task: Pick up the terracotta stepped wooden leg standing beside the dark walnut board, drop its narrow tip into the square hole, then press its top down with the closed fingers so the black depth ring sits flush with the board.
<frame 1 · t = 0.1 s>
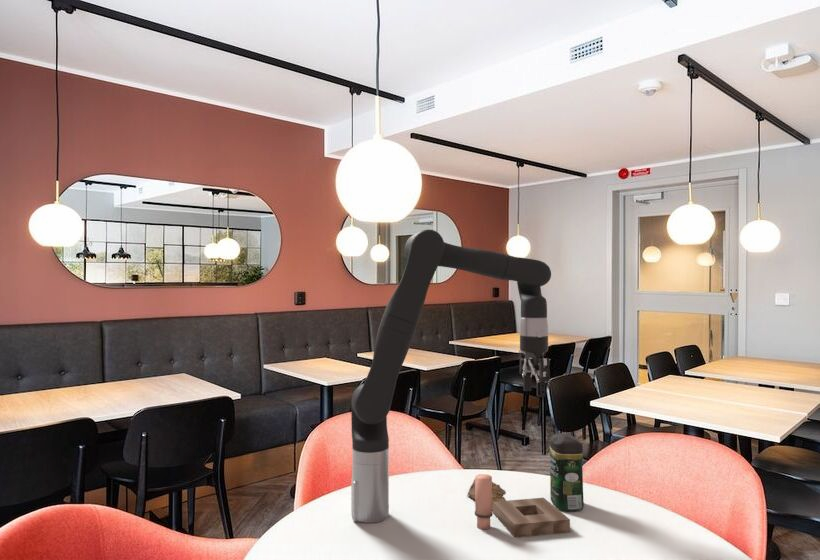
hand: (534, 393, 148), 29 cm above the table, tool pointing down, fingers open, 8 cm apart
wooden fragment: (485, 495, 154), on the table
terracotta leg: (483, 526, 132), on the table
coffee jar: (566, 506, 145), on the table
walnut board: (530, 522, 134), on the table
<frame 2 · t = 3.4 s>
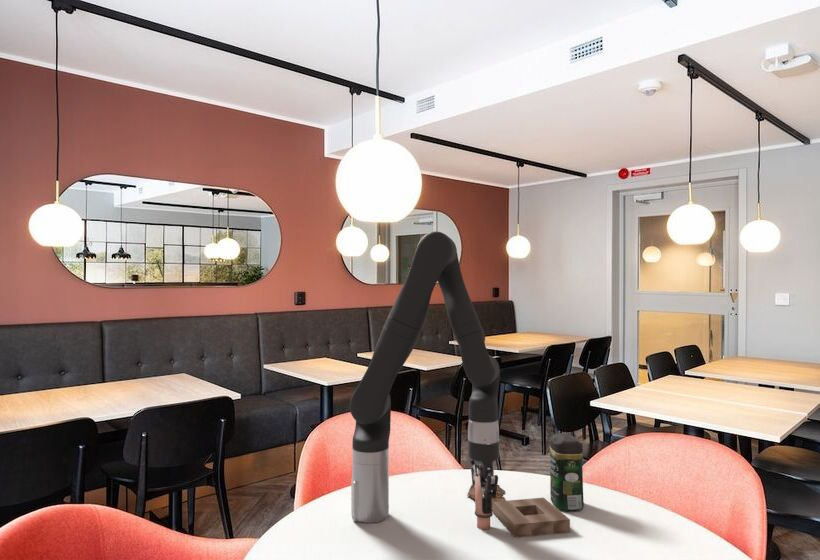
hand: (483, 509, 132), 4 cm above the table, tool pointing down, fingers closed on terracotta leg, 4 cm apart
terracotta leg: (483, 526, 132), on the table, touching gripper
everything else where it was.
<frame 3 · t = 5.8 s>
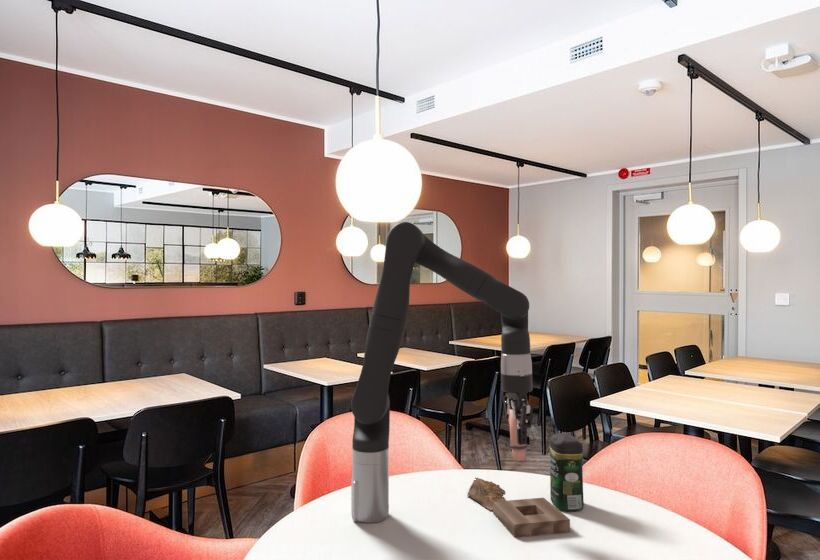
hand: (518, 441, 133), 20 cm above the table, tool pointing down, fingers closed on terracotta leg, 4 cm apart
terracotta leg: (519, 458, 133), point 16 cm above the table, touching gripper
everything else where it was.
when the fingers open (5 cm above the table, at t = 8.3 s): terracotta leg stays where it is, resting in walnut board.
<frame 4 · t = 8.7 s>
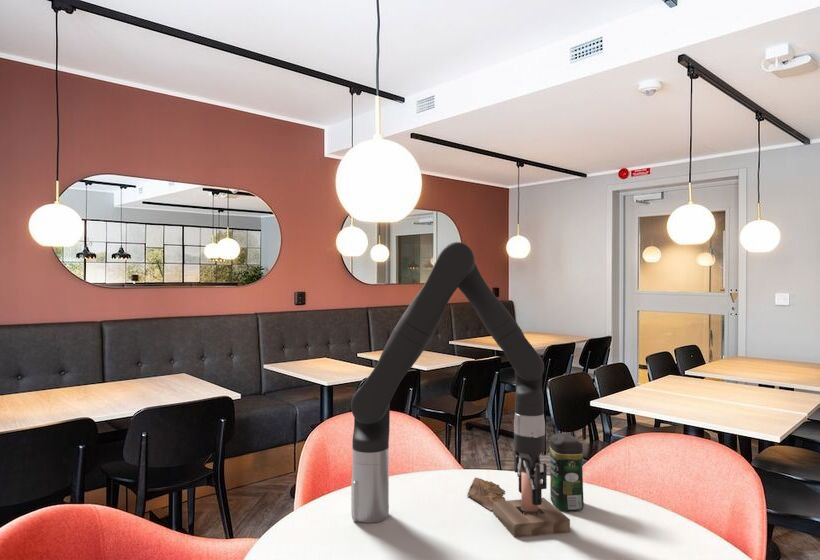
hand: (529, 498, 134), 6 cm above the table, tool pointing down, fingers open, 7 cm apart
terracotta leg: (529, 522, 134), resting in walnut board
everything else where it was.
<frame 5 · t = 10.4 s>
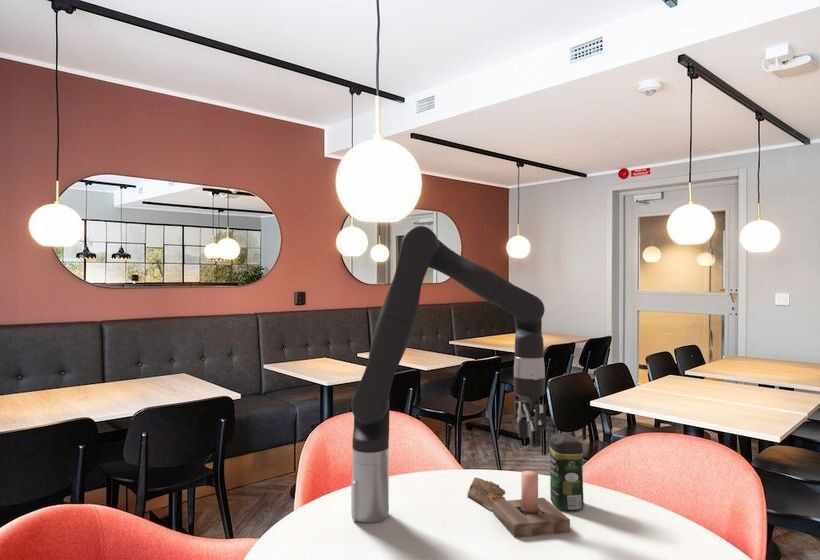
hand: (529, 441, 134), 20 cm above the table, tool pointing down, fingers open, 7 cm apart
nothing on the table moved.
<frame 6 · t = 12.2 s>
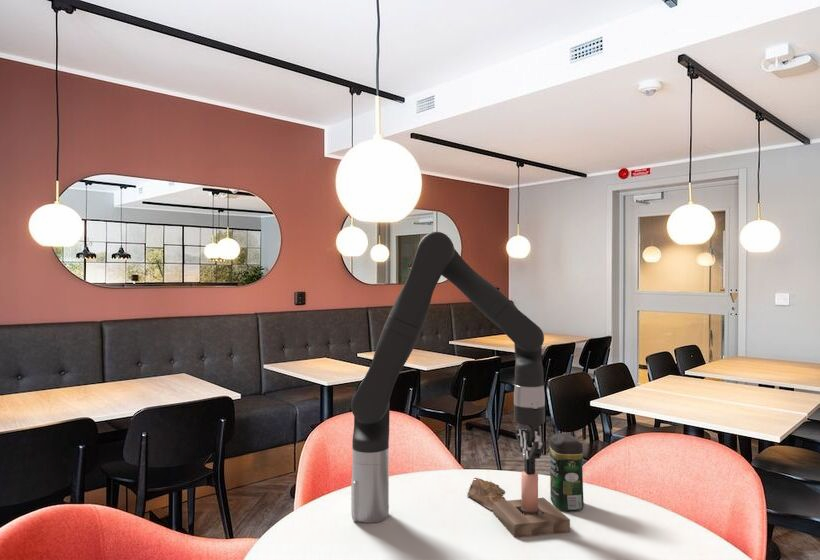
hand: (529, 473, 134), 12 cm above the table, tool pointing down, fingers closed
terracotta leg: (529, 522, 134), resting in walnut board, touching gripper
everything else where it was.
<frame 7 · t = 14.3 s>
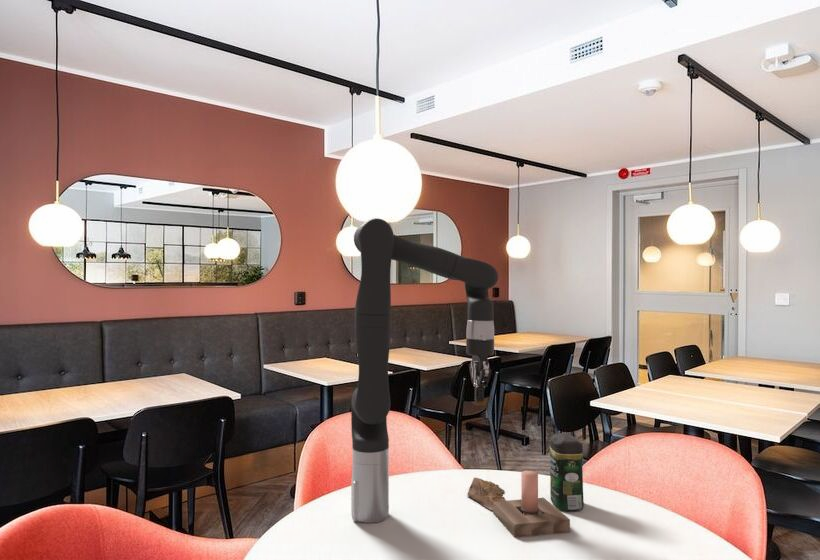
hand: (479, 401, 147), 27 cm above the table, tool pointing down, fingers closed
terracotta leg: (529, 522, 134), resting in walnut board
everything else where it was.
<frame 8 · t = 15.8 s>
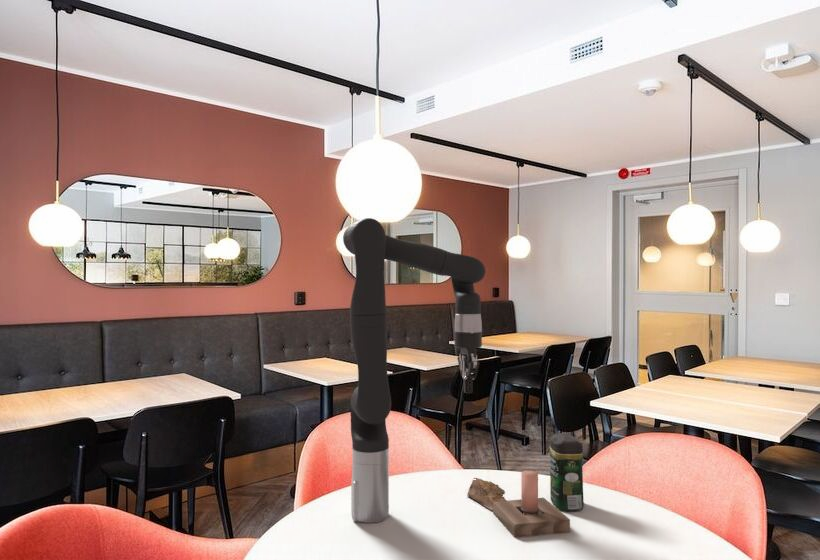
hand: (468, 392, 150), 29 cm above the table, tool pointing down, fingers closed
nothing on the table moved.
at the end: terracotta leg 0.0 cm off-centre on the walnut board, point 0.0 cm above the walnut board's base; terracotta leg tilted 0°; the gripper is holding nothing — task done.
